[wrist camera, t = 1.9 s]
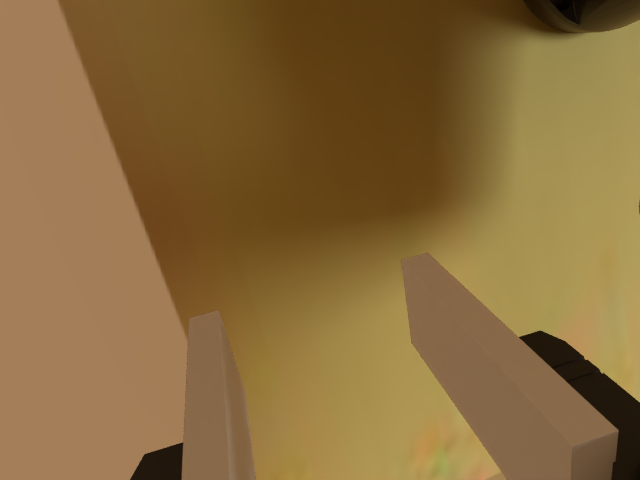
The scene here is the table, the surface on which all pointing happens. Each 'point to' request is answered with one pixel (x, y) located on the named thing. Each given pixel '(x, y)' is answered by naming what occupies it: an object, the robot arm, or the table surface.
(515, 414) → the robot arm
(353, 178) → the table surface
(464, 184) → the table surface
